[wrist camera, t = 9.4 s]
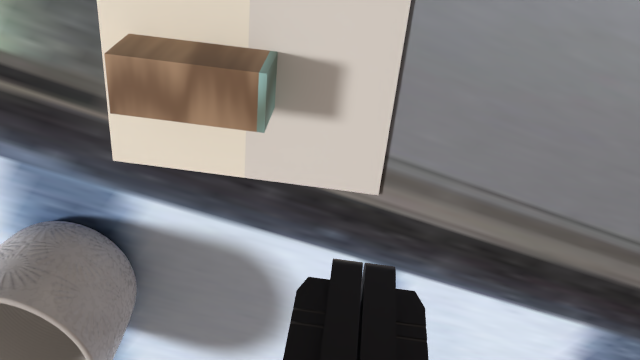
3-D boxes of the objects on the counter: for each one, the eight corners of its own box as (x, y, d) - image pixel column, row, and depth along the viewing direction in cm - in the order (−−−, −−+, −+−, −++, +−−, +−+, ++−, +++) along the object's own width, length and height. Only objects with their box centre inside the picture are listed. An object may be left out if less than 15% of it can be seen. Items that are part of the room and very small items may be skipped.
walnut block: (277, 51, 40) (128, 33, 40) (267, 73, 36) (104, 53, 37) (274, 107, 42) (132, 89, 42) (264, 133, 38) (110, 113, 39)
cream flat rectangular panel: (91, -67, 37) (90, -66, 37) (415, -29, 36) (415, -29, 36) (114, 159, 46) (113, 160, 45) (378, 193, 45) (378, 195, 45)
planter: (179, 292, 52) (133, 395, 43) (74, 335, 56) (11, 438, 47) (85, 181, 47) (9, 271, 38) (-23, 237, 51) (-115, 331, 42)
